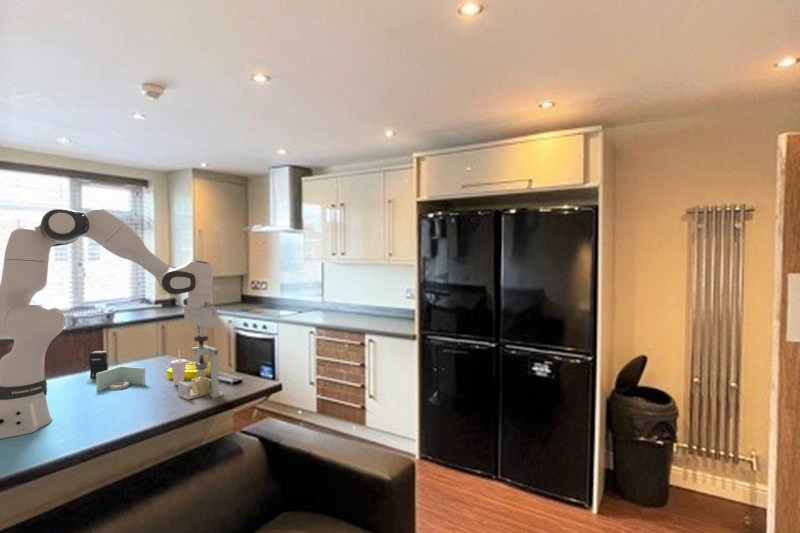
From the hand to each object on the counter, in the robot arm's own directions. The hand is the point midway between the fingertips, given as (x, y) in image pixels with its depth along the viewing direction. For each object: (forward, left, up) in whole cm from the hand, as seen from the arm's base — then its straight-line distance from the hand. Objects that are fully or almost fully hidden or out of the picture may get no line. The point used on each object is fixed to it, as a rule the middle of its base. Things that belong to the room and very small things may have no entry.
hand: (201, 336), depth 175 cm
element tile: (+9, +28, -23) cm, 38 cm away
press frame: (0, 0, -23) cm, 23 cm away
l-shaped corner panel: (-18, +32, -23) cm, 43 cm away
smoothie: (-1, +19, -23) cm, 30 cm away
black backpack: (-20, +54, -23) cm, 62 cm away
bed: (-2, 0, -22) cm, 22 cm away
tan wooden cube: (-1, 0, -21) cm, 21 cm away
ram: (0, 0, -12) cm, 12 cm away
